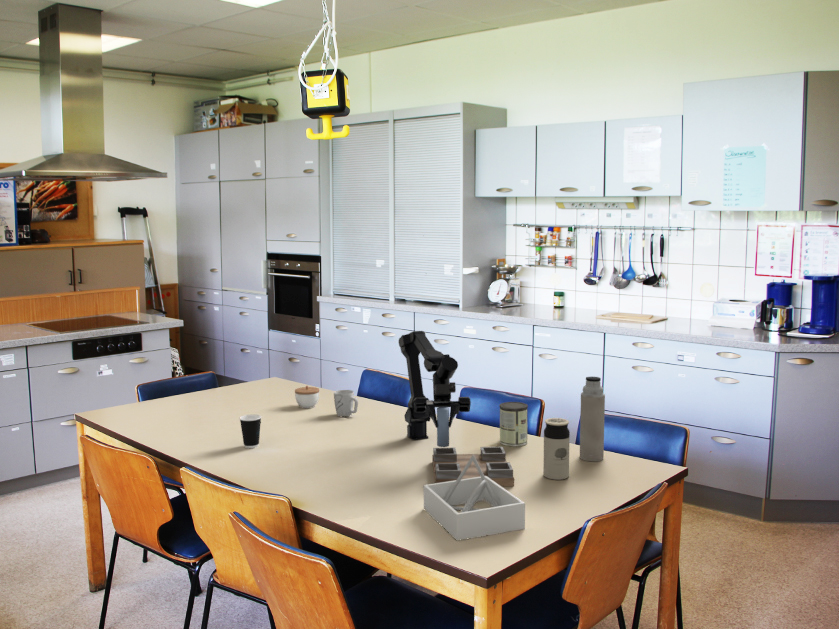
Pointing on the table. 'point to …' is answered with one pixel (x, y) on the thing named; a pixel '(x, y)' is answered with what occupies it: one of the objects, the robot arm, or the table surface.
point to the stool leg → (443, 426)
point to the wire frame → (476, 492)
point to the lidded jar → (307, 396)
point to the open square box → (475, 521)
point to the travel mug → (556, 449)
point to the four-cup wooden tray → (472, 465)
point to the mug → (345, 402)
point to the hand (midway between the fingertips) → (443, 427)
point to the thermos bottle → (592, 420)
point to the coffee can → (513, 423)
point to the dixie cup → (250, 430)
